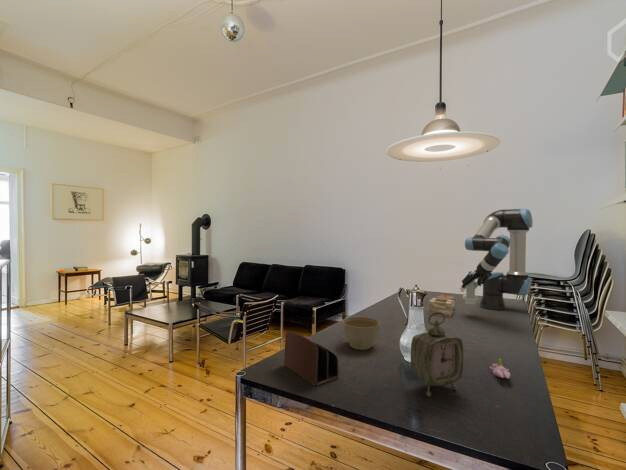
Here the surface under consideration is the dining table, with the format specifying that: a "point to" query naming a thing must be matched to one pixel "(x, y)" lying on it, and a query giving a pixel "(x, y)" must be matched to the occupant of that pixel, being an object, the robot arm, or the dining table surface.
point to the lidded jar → (446, 297)
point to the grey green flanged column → (470, 294)
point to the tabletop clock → (437, 356)
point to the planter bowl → (361, 331)
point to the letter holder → (310, 359)
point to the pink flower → (500, 370)
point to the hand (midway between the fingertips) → (466, 290)
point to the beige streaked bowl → (441, 306)
